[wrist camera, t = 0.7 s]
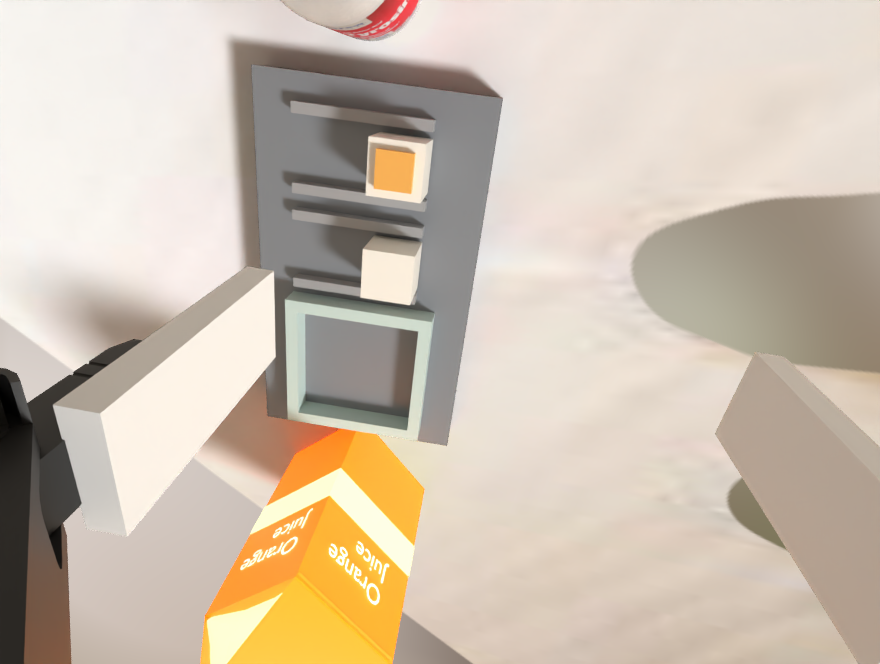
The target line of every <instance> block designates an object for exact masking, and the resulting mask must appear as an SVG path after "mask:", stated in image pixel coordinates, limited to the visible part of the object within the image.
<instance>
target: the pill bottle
mask: <svg viewBox="0 0 880 664" xmlns="http://www.w3.org/2000/svg"><path fill="white" fill-rule="evenodd" d="M281 1H282V2H283V3H284V4H285V5H286V6H287V7H288V8H289V9H291V10H292V11H293V12H295V13H296V14H298V15H299V16H301V17H303V18H305V19H306V20H308V21H311V22H313V23H316V24H318V25H321V26H324V27H326V28H329V29H332V30H334V31H337V32H340V33H342V34H345V35H347V36H350V37H353V38H356V39H359V40H364V41H379V40H384V39H386V38H389V37H391V36H393V35H395V34H397V33H398V32H400V31H401V30H402V29H403V28H405V27H406V26H407V25H408V24H409V22H410V21H411V20H412V19H413V17H414V16H415V14H416V12H417V11H418V9H419V6H420V4H421V1H422V0H281Z"/></svg>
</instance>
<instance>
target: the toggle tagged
mask: <svg viewBox="0 0 880 664" xmlns="http://www.w3.org/2000/svg"><path fill="white" fill-rule="evenodd" d="M432 147H433V139H429V138H422V137H415V136H408V135H401V134H394V133H386V132H379V133H376V134H373V135H370V136H369V137H368V157H367V176H366V196H373V197H380V198H386V199H393V200H400V201H407V202H414V203H421V202H422V200H423V199H424V198H425V196H426V195H427V193H428V185H429V175H430V166H431V156H432Z"/></svg>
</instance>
